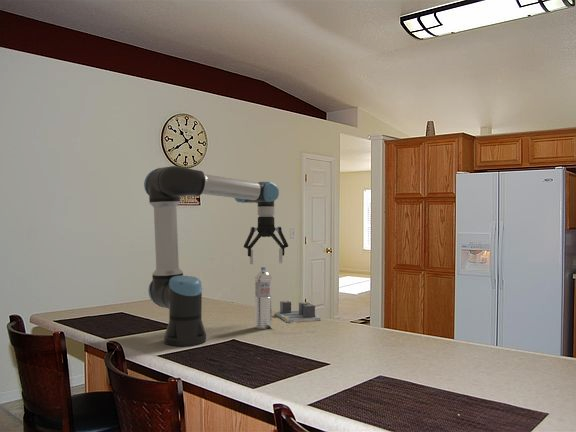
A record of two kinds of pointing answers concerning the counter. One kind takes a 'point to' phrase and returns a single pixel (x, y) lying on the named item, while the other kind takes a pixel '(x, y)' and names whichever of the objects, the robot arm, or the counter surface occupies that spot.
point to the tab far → (285, 307)
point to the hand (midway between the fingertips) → (266, 263)
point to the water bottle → (263, 300)
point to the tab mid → (302, 307)
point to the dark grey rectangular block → (308, 311)
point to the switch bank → (295, 317)
